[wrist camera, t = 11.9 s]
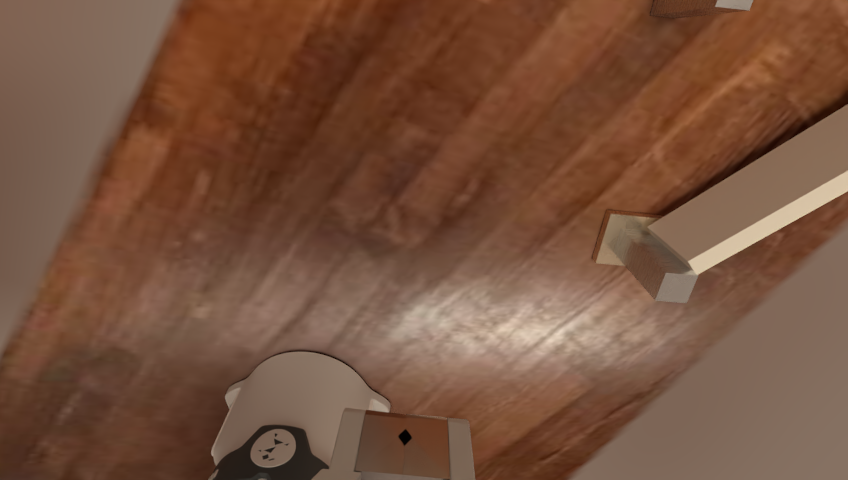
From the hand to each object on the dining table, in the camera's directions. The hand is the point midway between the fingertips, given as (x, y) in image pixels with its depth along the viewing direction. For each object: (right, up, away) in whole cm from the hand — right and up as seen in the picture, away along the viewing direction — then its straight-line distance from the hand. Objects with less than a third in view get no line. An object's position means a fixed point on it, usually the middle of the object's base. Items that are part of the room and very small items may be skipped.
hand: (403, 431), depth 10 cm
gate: (+28, +11, +24) cm, 39 cm away
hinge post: (+19, +5, +29) cm, 35 cm away
